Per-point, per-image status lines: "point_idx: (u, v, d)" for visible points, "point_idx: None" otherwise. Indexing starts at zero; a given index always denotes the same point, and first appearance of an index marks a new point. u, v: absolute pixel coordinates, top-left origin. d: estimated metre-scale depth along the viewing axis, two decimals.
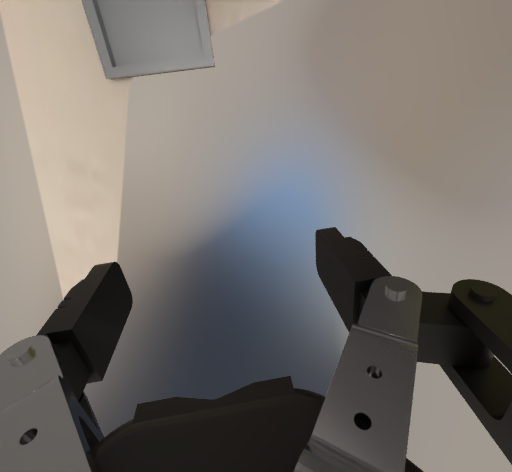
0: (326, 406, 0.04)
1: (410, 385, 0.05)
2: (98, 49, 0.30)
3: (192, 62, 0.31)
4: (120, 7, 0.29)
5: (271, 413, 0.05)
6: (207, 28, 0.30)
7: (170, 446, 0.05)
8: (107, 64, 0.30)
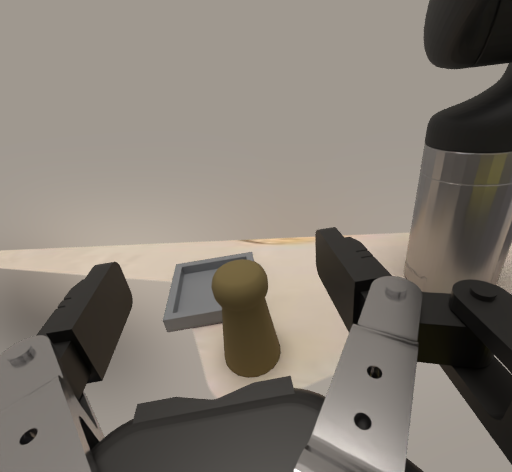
0: (326, 406, 0.04)
1: (410, 385, 0.05)
2: (193, 262, 0.44)
3: (170, 305, 0.35)
4: None
5: (271, 413, 0.05)
6: (191, 314, 0.34)
7: (170, 446, 0.05)
8: (184, 265, 0.43)
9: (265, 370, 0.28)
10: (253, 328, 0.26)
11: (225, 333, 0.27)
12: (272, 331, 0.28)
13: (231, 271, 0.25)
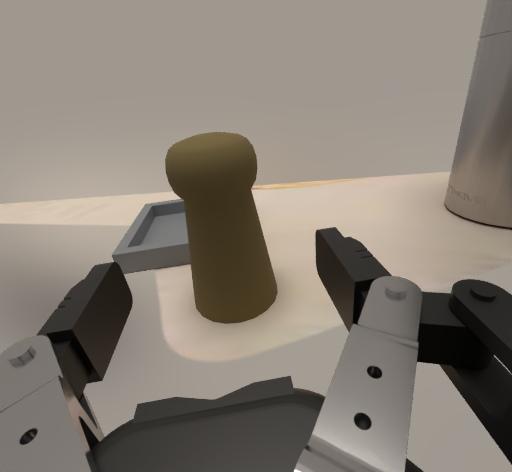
0: (326, 406, 0.04)
1: (410, 385, 0.05)
2: (167, 201, 0.34)
3: (126, 240, 0.26)
4: None
5: (271, 413, 0.05)
6: (152, 247, 0.24)
7: (170, 446, 0.05)
8: (155, 204, 0.34)
9: (253, 312, 0.18)
10: (233, 237, 0.16)
11: (190, 253, 0.18)
12: (264, 253, 0.18)
13: (196, 137, 0.15)
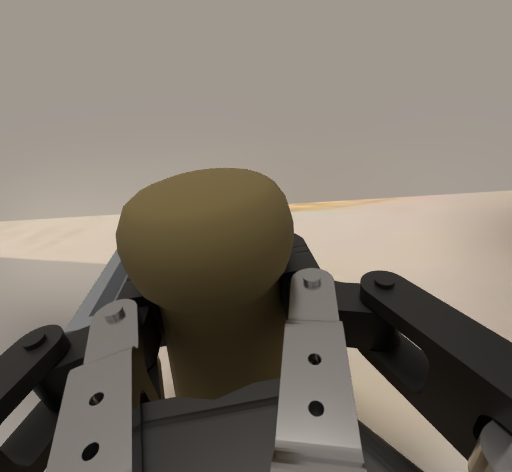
0: (326, 406, 0.04)
1: (345, 361, 0.05)
2: None
3: (89, 302, 0.18)
4: None
5: (271, 413, 0.05)
6: None
7: (170, 446, 0.05)
8: None
9: None
10: (250, 366, 0.09)
11: (172, 374, 0.10)
12: None
13: (177, 183, 0.08)
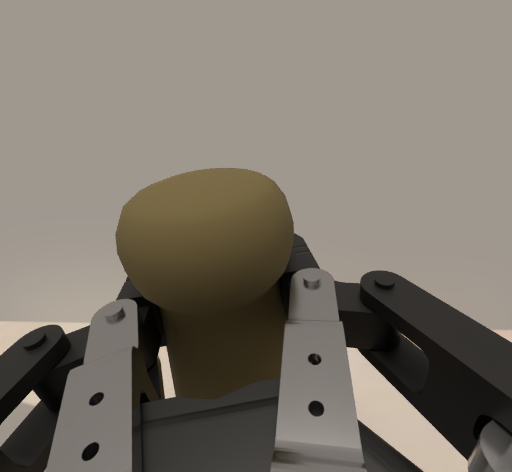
0: (326, 406, 0.04)
1: (345, 360, 0.05)
2: None
3: None
4: None
5: (271, 413, 0.05)
6: None
7: (170, 446, 0.05)
8: None
9: None
10: (250, 367, 0.08)
11: (172, 374, 0.10)
12: None
13: (177, 183, 0.08)
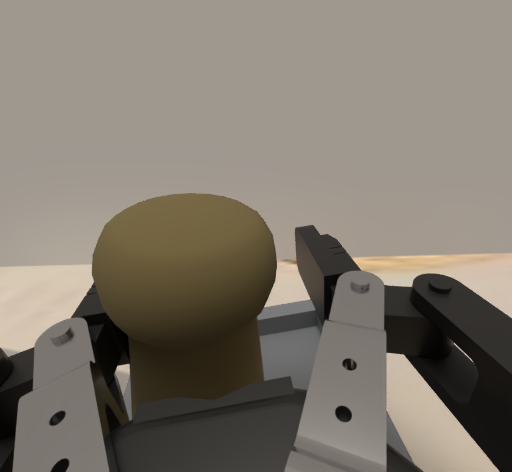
0: (326, 406, 0.04)
1: (383, 372, 0.05)
2: None
3: None
4: None
5: (271, 413, 0.05)
6: None
7: (170, 446, 0.05)
8: None
9: None
10: None
11: (132, 396, 0.10)
12: None
13: (165, 211, 0.07)
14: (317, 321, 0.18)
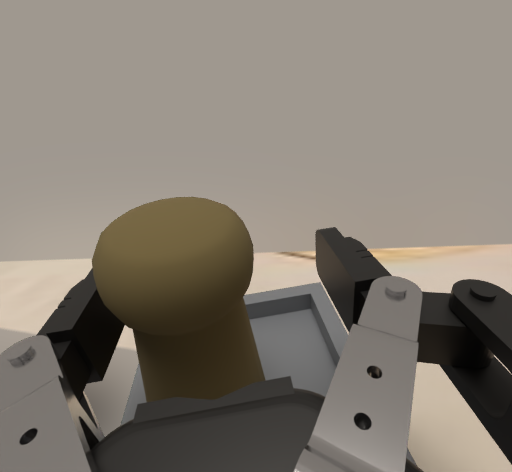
0: (326, 406, 0.04)
1: (410, 385, 0.05)
2: None
3: None
4: None
5: (271, 413, 0.05)
6: None
7: (170, 446, 0.05)
8: None
9: None
10: (205, 377, 0.10)
11: (141, 373, 0.11)
12: (255, 375, 0.12)
13: (149, 219, 0.09)
14: (311, 304, 0.20)
